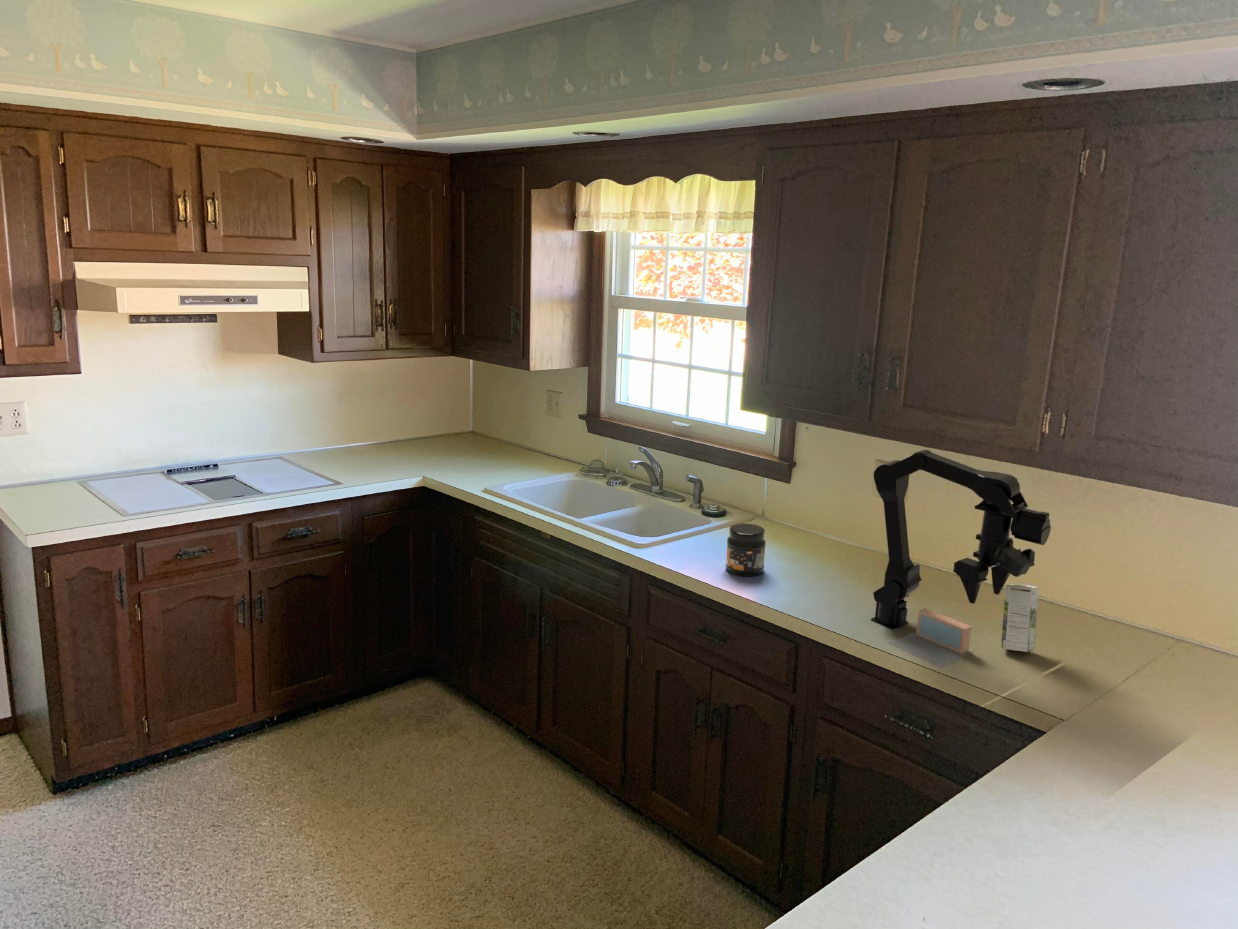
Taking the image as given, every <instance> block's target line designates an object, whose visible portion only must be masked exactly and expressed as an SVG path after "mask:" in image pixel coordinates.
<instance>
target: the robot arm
mask: <svg viewBox="0 0 1238 929" xmlns="http://www.w3.org/2000/svg"><path fill="white" fill-rule="evenodd" d="M918 471H923V472H926V473H929V474H931V475H934V476H936V477H939V478H942V479H944V480H946V481H949V482H952V483H955V484H957V485H960V486H962V487H965V488H968V489H969V490H971V491H973V493H974V494H976V496H977V497H979V498H980V499H982V501H981V502H980V503H978V504H976V505H974V509H975V510H978V511H982V512H983V516H982V523H981V529H980V533H977V534H976V535H975V539H976V540H977V541H978V542H979V543H978V548H977V550H976V551H973V552H972V557H973V558H976V559H977V560H975V559H972V558H970V557H965V558H962V559H959V560H957V561H955V562H954V563H953V569H952V571H953V573H955V574H956V575H957V576H958V577H959V579H960V580H961V582H962V585H963V588H964V591H965V592H966V596H967V600H968V602H969V603H970V604H973V605H974V604H976V602H977V597H978V595H979V592H980V587H981V584H982V583H984V582H986V581H988V578H987V576H988V575H989V571H990V570H991V584H992V589H993V590H992V591H993V594H994V595H1000V593H1001V591H1002V590H1003V588H1004V587H1005V585H1006V583H1007V580H1008V579H1009V577H1010V576H1012V577H1015V578H1018V577H1020V576H1022V575H1026V574H1027V573H1028V571H1029V570H1030V568H1031V567H1034V566H1035V558H1036V556H1035V555H1036V552H1035V551H1034V550H1033V549H1031V548H1026V549H1024V550H1022V551H1021V548H1018V549H1017V548H1015V547H1014V540H1013V538H1011V537H1010V533H1011V536H1014V538H1015V539H1017V540H1020V541H1021V540H1022V541H1024V542H1030V543H1032V544H1037V545H1040V546H1044V545H1046V543H1047V541H1048V539H1049V537H1050V533H1051V528H1052V525H1051V519H1050V512H1046V511H1038V510H1034V509H1029V508H1028V507H1029V505H1028V503H1027V501H1026V499H1025V498H1024V496H1023V494H1022V492H1021V486H1020V482H1019V481H1018V479H1017V477H1015V476H1013V475H1012V474H1008V473H1002V472H997V471H988V470H980V469H977V468H973V467H971V466H968V465H967V464H963V463H960V462H958V461H955V460H952V459H950V458H947V457H944V456H941V455H939V454H937V453H934V452H933V451H930V450H928V449H921V450H919V451H915V452H913V454H911V455H910V456H908V457H906V458H904V459H902V460H899V459H894V460H890V461H888V462H886V463H882V464H881V465H878V466H877V468H875V469H874V470H873V477H872V478H873V481H874V485H875V488H876V492H877V493H878V495H879V497H880V498H881V500H882V502H883V511H884V512H883V513H884V524H885V533H886V542H887V543H886V544H887V553H888V562H887V565H886V568H885V573H884V581H883V582H884V583H883V586H882V587H880V588H878V589H877V590H875V591H873V593H872V594H873V598H874V601H875V602H876V603H875V612H874V613H875V614H874V617H871V618H870V621H872V622H873V623H876V624H879V625H880V626H882V627H885V628H888V629H889V630H895V629H898V628H900V627H902V626H905V625H907V624H909V621H907V616H908V608H907V600H905V599H906V598H908V597H909V596H910V595H911V594H912V593H914V592H915V591H916V590H917V589H918V588H919V586H920V582H922V580H923V579H922V578H921V574H920V572H921V570H920V569H921V566H920V564H914V562H913V561H912V560H911V556H910V548H909V547H910V546H909V537H908V525H907V515H906V504H905V497H906V494H907V491H908V488H909V481H910V480H909V479H910V475H912V474H913V473H916V472H918ZM989 569H990V570H989Z"/></svg>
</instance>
